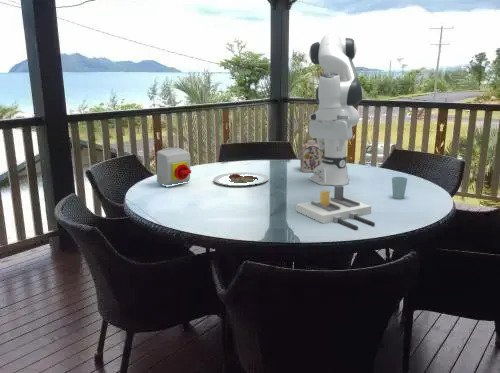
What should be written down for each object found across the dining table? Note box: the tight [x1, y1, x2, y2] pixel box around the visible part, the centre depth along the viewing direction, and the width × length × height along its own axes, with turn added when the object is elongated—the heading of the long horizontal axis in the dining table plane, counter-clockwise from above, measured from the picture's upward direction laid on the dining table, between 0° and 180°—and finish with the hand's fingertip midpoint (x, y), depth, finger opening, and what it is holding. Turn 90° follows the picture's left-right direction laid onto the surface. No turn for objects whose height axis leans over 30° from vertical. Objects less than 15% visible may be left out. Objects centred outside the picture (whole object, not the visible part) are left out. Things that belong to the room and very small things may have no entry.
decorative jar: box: [300, 140, 323, 173], centre depth 250 cm, size 12×12×18 cm
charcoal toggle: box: [333, 185, 344, 201], centre depth 176 cm, size 2×3×6 cm, turn 118°
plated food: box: [213, 172, 270, 187], centre depth 228 cm, size 30×30×3 cm
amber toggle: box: [319, 190, 331, 207], centre depth 169 cm, size 2×3×6 cm, turn 118°
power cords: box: [332, 212, 376, 230], centre depth 158 cm, size 12×10×2 cm
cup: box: [391, 176, 408, 200], centre depth 190 cm, size 7×7×9 cm
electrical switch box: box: [156, 147, 192, 185], centre depth 221 cm, size 14×15×20 cm
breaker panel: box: [295, 196, 372, 224], centre depth 171 cm, size 18×24×4 cm
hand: (330, 150), depth 169 cm, fingers open, 8 cm apart
